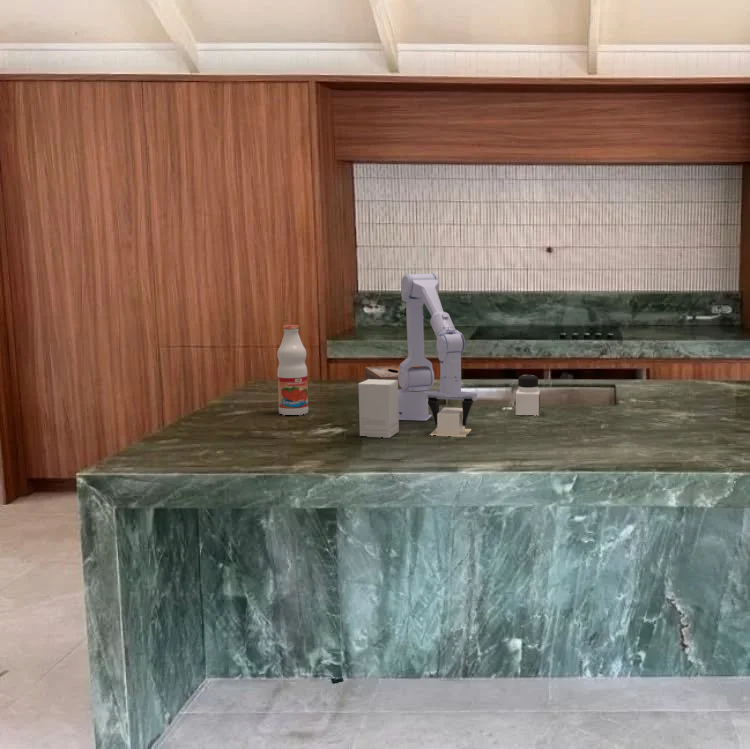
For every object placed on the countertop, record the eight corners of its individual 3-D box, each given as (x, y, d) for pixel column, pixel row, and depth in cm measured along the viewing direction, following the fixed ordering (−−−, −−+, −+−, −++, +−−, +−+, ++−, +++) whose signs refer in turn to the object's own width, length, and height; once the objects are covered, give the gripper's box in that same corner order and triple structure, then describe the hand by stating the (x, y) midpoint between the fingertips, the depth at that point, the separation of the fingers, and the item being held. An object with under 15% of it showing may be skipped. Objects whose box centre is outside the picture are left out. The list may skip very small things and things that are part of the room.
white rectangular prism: (458, 436, 233) (458, 414, 232) (437, 435, 235) (437, 413, 234) (464, 428, 242) (464, 408, 241) (444, 428, 244) (444, 407, 243)
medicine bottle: (539, 416, 259) (539, 377, 257) (515, 415, 260) (515, 377, 259) (539, 412, 266) (540, 374, 264) (516, 411, 267) (516, 373, 266)
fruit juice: (303, 409, 276) (300, 323, 272) (312, 414, 267) (310, 325, 263) (275, 412, 272) (272, 325, 268) (283, 417, 263) (280, 327, 259)
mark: (429, 435, 234) (429, 434, 234) (436, 428, 244) (436, 427, 244) (465, 437, 231) (465, 436, 231) (471, 429, 241) (471, 429, 241)
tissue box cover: (365, 394, 305) (365, 367, 304) (404, 392, 308) (404, 365, 307) (381, 407, 280) (380, 377, 279) (423, 404, 283) (423, 375, 282)
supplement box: (399, 432, 240) (399, 379, 238) (389, 438, 231) (389, 384, 229) (369, 430, 243) (368, 378, 241) (358, 436, 234) (357, 383, 232)
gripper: (421, 378, 234) (422, 426, 235) (474, 379, 230) (474, 428, 231) (427, 374, 240) (427, 421, 242) (478, 375, 236) (478, 423, 238)
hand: (450, 424), depth 237 cm, fingers open, 7 cm apart
